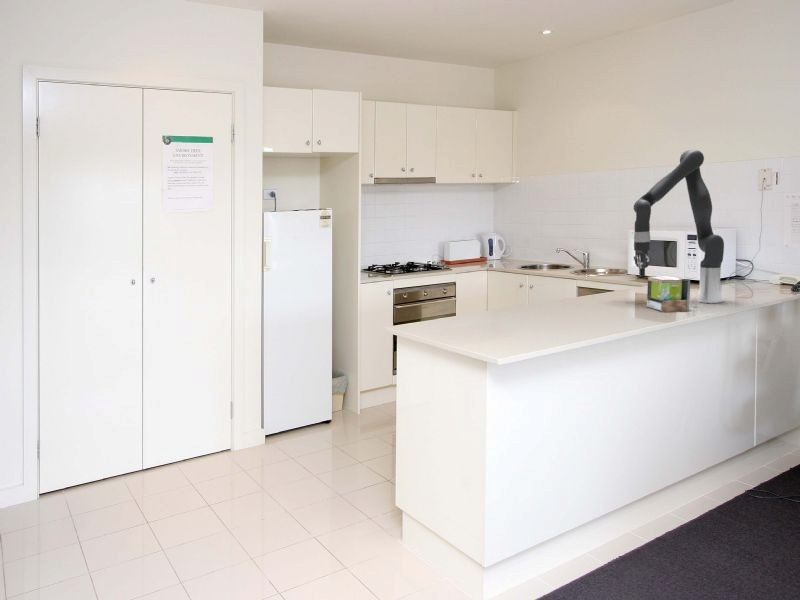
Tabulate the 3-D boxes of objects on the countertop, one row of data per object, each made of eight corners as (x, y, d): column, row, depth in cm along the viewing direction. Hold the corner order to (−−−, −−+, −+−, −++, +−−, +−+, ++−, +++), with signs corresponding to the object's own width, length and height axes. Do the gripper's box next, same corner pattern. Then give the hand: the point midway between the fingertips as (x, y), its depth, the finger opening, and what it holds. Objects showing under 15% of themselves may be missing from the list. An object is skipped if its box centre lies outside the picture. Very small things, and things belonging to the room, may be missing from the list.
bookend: (673, 306, 331) (674, 277, 329) (689, 310, 318) (690, 280, 316) (671, 307, 331) (672, 277, 329) (686, 311, 318) (687, 280, 316)
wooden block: (685, 310, 320) (686, 299, 319) (687, 311, 318) (687, 300, 317) (661, 311, 318) (661, 300, 317) (663, 312, 316) (663, 301, 316)
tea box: (681, 310, 320) (682, 278, 317) (660, 311, 319) (661, 279, 317) (666, 306, 334) (667, 275, 332) (646, 306, 333) (647, 276, 331)
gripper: (656, 241, 336) (656, 276, 338) (642, 239, 349) (642, 274, 351) (641, 242, 335) (641, 277, 337) (628, 240, 347) (628, 275, 350)
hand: (642, 276), depth 344 cm, fingers closed
